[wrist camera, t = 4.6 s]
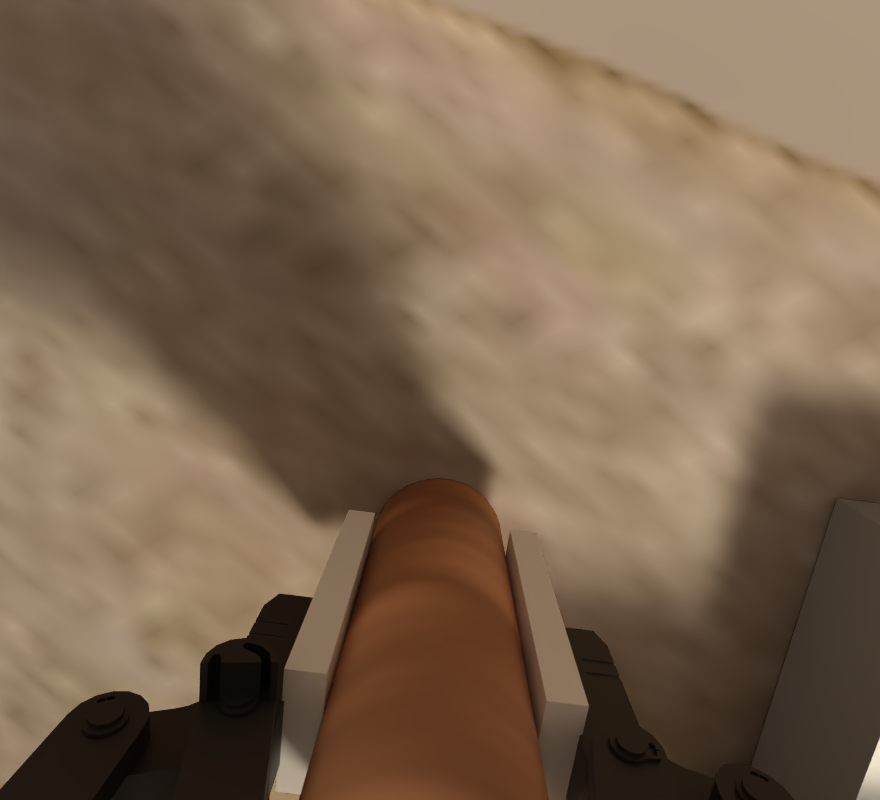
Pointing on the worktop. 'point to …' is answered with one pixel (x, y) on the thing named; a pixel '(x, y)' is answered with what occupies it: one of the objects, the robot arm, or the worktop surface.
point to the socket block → (832, 671)
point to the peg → (430, 664)
